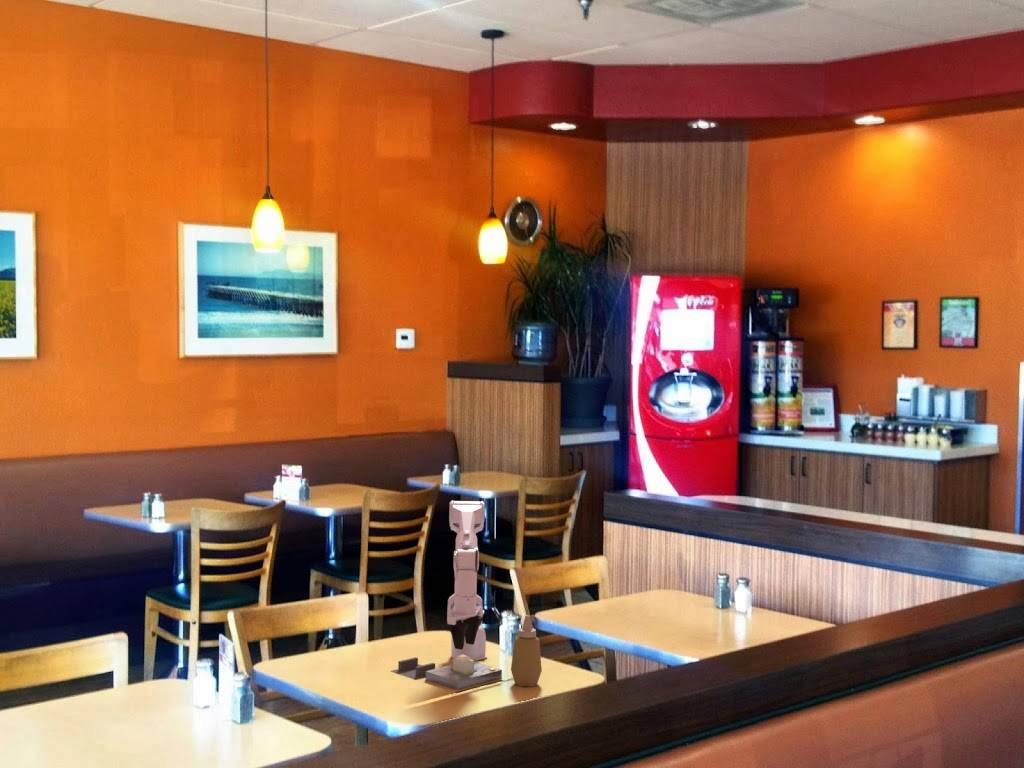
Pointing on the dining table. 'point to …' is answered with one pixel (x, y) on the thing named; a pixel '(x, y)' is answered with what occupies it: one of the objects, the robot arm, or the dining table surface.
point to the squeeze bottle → (526, 656)
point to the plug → (463, 664)
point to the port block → (464, 676)
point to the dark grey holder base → (413, 668)
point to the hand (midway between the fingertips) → (464, 646)
